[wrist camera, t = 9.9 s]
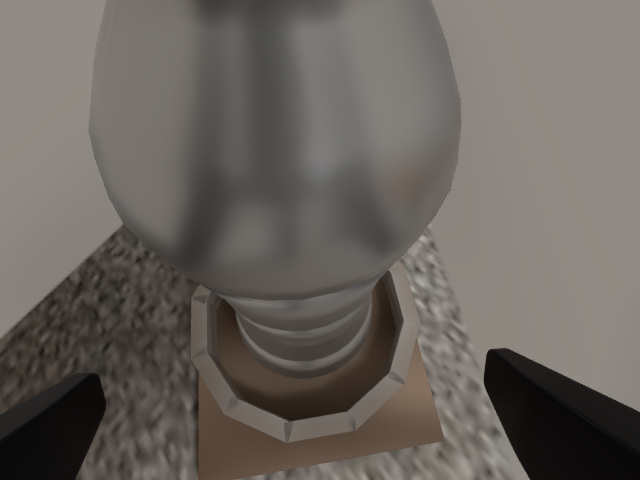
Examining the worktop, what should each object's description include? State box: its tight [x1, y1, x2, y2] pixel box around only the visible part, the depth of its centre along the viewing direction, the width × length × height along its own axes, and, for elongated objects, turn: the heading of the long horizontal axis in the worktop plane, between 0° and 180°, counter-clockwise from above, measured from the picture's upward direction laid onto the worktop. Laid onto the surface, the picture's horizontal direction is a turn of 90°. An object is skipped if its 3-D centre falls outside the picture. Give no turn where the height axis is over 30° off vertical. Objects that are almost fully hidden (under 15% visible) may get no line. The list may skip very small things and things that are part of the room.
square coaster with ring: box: [190, 261, 445, 480], centre depth 19 cm, size 14×12×3 cm
